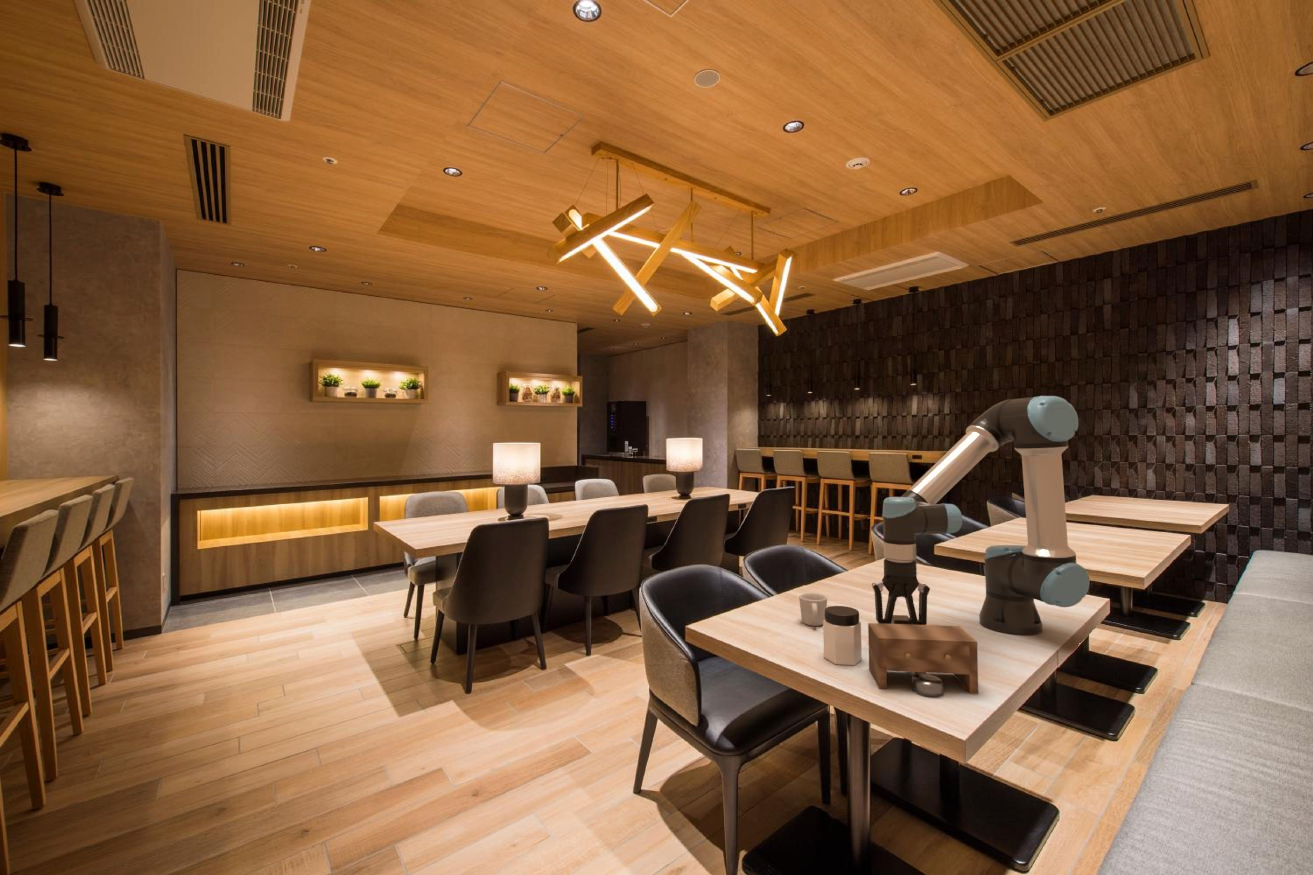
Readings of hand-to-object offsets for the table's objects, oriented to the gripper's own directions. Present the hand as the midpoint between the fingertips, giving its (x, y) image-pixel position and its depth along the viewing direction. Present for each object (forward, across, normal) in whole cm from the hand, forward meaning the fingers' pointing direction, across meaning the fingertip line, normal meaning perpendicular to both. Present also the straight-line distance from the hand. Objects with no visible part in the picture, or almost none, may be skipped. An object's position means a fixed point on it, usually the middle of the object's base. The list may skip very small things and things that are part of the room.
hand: (901, 652), depth 139 cm
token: (+1, 0, +20) cm, 20 cm away
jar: (+1, +15, +4) cm, 15 cm away
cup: (+1, +19, -21) cm, 28 cm away
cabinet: (+1, 0, +15) cm, 15 cm away
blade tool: (0, 0, +8) cm, 8 cm away
